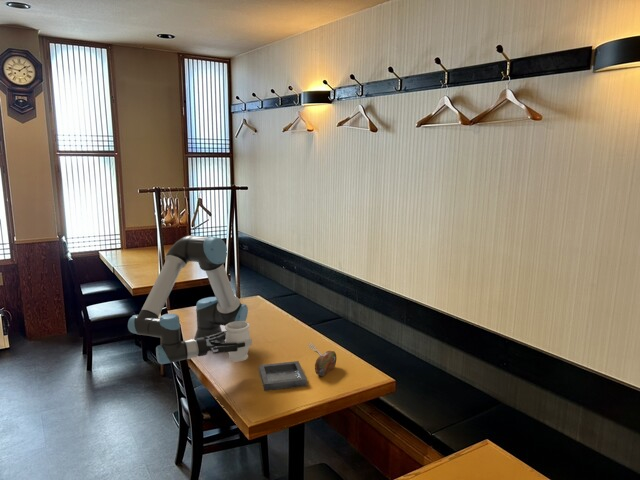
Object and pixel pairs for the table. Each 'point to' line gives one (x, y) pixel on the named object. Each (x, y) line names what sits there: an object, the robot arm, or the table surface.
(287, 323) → the table surface
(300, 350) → the table surface
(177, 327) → the robot arm
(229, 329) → the jar
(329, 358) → the tin
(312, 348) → the fork
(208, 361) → the table surface
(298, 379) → the dark grey square tray
